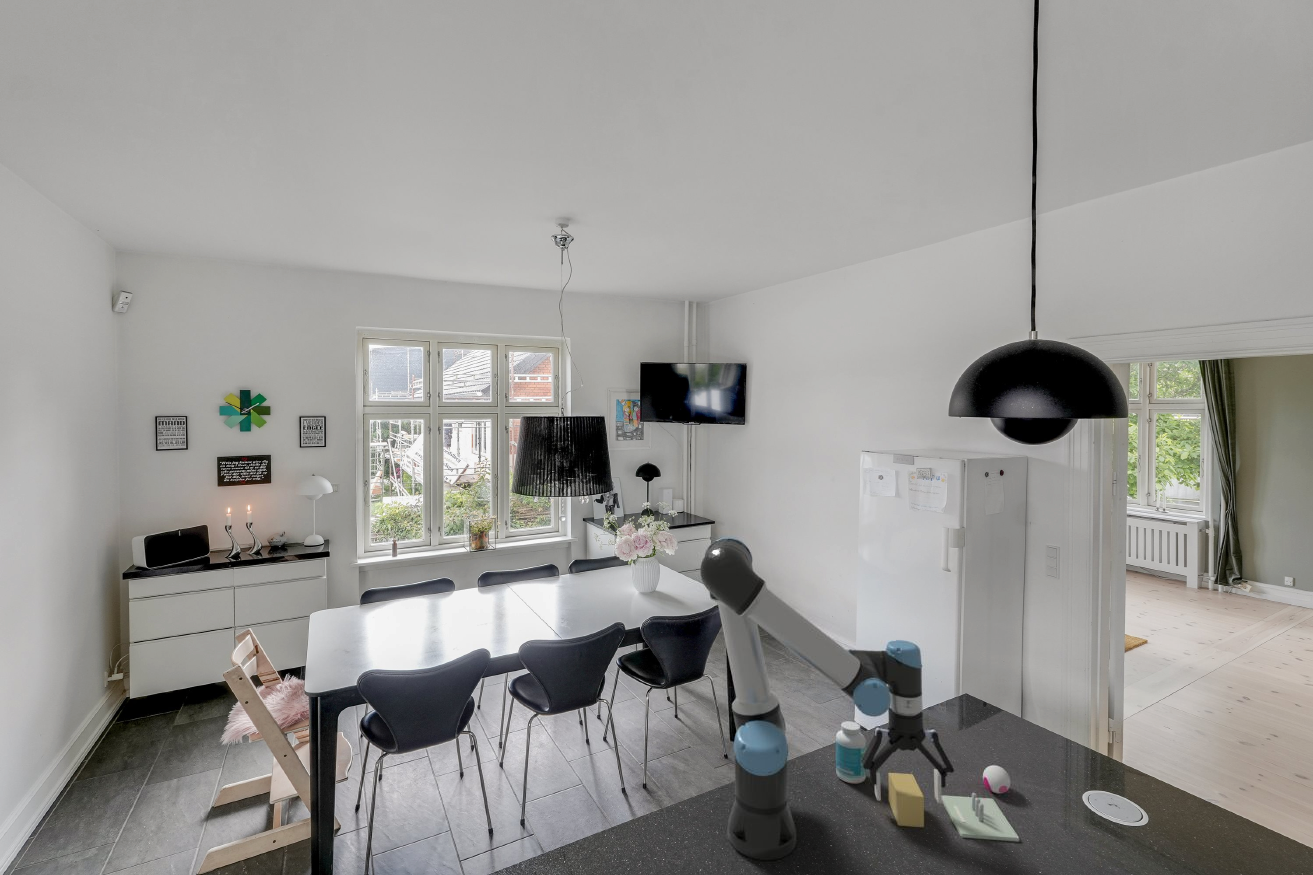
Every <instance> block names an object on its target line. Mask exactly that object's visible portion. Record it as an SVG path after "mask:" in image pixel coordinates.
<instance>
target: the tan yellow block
mask: <svg viewBox="0 0 1313 875" xmlns="http://www.w3.org/2000/svg"><path fill="white" fill-rule="evenodd" d="M887 774H888V803H889V805H890V808H891V811H892V814H893V816H894V818H895V820H896V823H897V826H900V827H903V826H904V827H915V828H924V827H925V816H924V815H925V809H924V808H925V797H924V796H925V795H923V794H924V793H923V792H922V791H921V788H920V787H919V784H918V783H917V780H916V779H915V776H914V775H913V773H900V772H888V773H887Z"/></svg>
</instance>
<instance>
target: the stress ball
mask: <svg viewBox="0 0 1313 875" xmlns="http://www.w3.org/2000/svg"><path fill="white" fill-rule="evenodd" d="M982 780H983V783H984V785H985V786H982V788H984V789H988V790H989V791H991V792H993V793H995V794H1003V793H1007V794H1010V792H1009V789H1010V786H1011V779H1010V776H1009V773H1008V772H1007V771H1006V770H1005V768H1003V767H1001V766H999V765H995V764H994V765H989V766H987V767H986V768H985V769H984V771H983V773H982Z"/></svg>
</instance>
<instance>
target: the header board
mask: <svg viewBox="0 0 1313 875" xmlns="http://www.w3.org/2000/svg"><path fill="white" fill-rule="evenodd" d="M942 804H943V805H944V808H945V810H946V811H947V813H948V815H949V818H950V819H951V821H952V824H954V827H955V828H956V830H957V832H958V834H959V836H960V837H961V838H967V839H979V840H994V841H1004V842H1005V841H1008V842H1020V837H1019V836H1018V834H1017V832H1016V831H1015V830H1014V828H1013V827H1012V825H1011V824H1010V822H1009V821H1008V819H1007V818H1006V816H1005V814H1003V813H1004V812H1002V810H1001V809H1000V808H999V805H998V804H997V803H996V801H995V800H994V799H993V798H988V797H986V798H985V797H978V795H977V793H976V792H972V793H971V796H970V797H969V796H956V795H942Z"/></svg>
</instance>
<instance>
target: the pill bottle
mask: <svg viewBox="0 0 1313 875" xmlns="http://www.w3.org/2000/svg"><path fill="white" fill-rule="evenodd" d="M840 727H841V729H840V730H838V732H836V735H835V769H836V771H835V772H836V775H837V778H839V779H840V780H841V781H844V782H846V783H848V784H861V783H863V782H865V779H866V777H867V774H866V773H867V769H864V767H863V764H862V762H861V760H862V758H863V756H864V754H865V752H866V750H867V747H866V746H867V744H866V743H867V740H866V737H865V736H864V735H863V734H862V733H861V726H860V724H858V723H857V722H854V721H850V720H847V721H843V722H842V723H841V726H840Z"/></svg>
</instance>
